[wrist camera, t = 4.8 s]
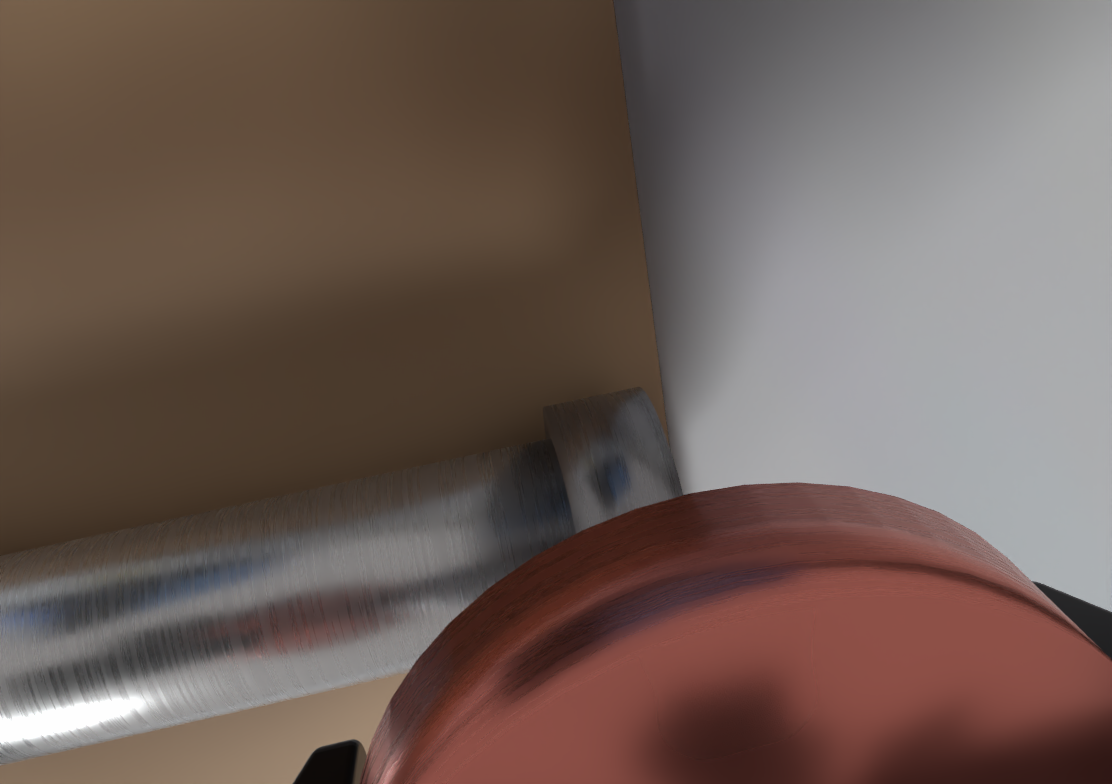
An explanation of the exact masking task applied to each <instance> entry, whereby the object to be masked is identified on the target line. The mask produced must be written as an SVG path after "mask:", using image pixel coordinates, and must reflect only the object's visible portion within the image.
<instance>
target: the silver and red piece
mask: <svg viewBox="0 0 1112 784" xmlns="http://www.w3.org/2000/svg"><path fill="white" fill-rule="evenodd" d="M543 418H544V426H545V433H546V439H544V440H540V441H535V442H530V443H526V444H521V445H516V446H512V447H507V448H502V449H498V450H493V451H488V452H484V453H479V454H474V455H469V456H465V457H460V458H455V459H451V460H446V461H441V462H437V463H432V464H427V465H423V466H418V467H413V468H409V469H404V470H399V471H395V472H390V473H385V474H381V475H376V476H371V477H367V478H362V479H357V480H353V481H348V482H343V483H339V484H334V485H329V486H325V487H320V488H315V489H311V490H306V491H301V492H296V493H292V494H287V495H282V496H278V497H273V498H268V499H264V500H259V501H254V502H250V503H245V504H240V505H236V506H231V507H226V508H222V509H217V510H212V511H208V512H203V513H198V514H194V515H189V516H184V517H180V518H175V519H170V520H166V521H161V522H156V523H152V524H147V525H142V526H138V527H133V528H128V529H123V530H119V531H114V532H109V533H105V534H100V535H95V536H91V537H86V538H81V539H77V540H72V541H67V542H63V543H58V544H53V545H49V546H44V547H39V548H35V549H30V550H25V551H21V552H16V553H11V554H7V555H2V556H0V766H2V765H6V764H10V763H15V762H19V761H24V760H28V759H32V758H37V757H41V756H46V755H50V754H54V753H59V752H63V751H67V750H72V749H76V748H81V747H85V746H89V745H94V744H98V743H102V742H107V741H111V740H116V739H120V738H124V737H129V736H133V735H138V734H142V733H146V732H151V731H155V730H159V729H164V728H168V727H173V726H177V725H181V724H186V723H190V722H194V721H199V720H203V719H208V718H212V717H216V716H221V715H225V714H230V713H234V712H238V711H243V710H247V709H251V708H256V707H260V706H265V705H269V704H273V703H278V702H282V701H286V700H291V699H295V698H300V697H304V696H308V695H313V694H317V693H322V692H326V691H330V690H335V689H339V688H343V687H348V686H352V685H357V684H361V683H365V682H370V681H374V680H378V679H383V678H387V677H392V676H396V675H400V674H405V673H408V674H407V675H406V677H405V678H404V680H403V681H402V683H401V684H400V686H399V687H398V689H397V690H396V692H395V694H394V695H393V697H392V698H391V700H390V702H389V704H388V706H387V708H386V710H385V712H384V714H383V716H382V719H381V721H380V723H379V725H378V727H377V729H376V731H375V733H374V736H373V738H372V740H371V743H370V747H369V750H368V754H367V757H366V761H365V764H364V768H363V771H362V774H361V778H360V784H1112V659H1111V658H1110V657H1109V656H1108V655H1107V654H1106V653H1105V652H1103V651H1102V650H1101V649H1100V648H1099V647H1098V646H1097V645H1096V644H1095V643H1094V642H1093V641H1092V640H1091V639H1090V638H1089V637H1088V636H1087V635H1086V634H1085V633H1084V632H1083V631H1082V630H1081V629H1080V628H1079V627H1078V626H1077V625H1076V624H1075V623H1074V622H1073V621H1072V620H1071V619H1070V618H1069V617H1068V616H1067V615H1065V614H1064V613H1063V612H1062V611H1061V610H1060V609H1059V608H1058V607H1057V606H1056V605H1055V604H1054V603H1053V602H1052V601H1051V600H1050V599H1049V598H1048V597H1047V596H1046V595H1045V594H1044V593H1043V592H1042V591H1041V590H1040V589H1039V588H1038V587H1037V586H1036V585H1035V584H1034V583H1033V582H1032V581H1031V580H1030V579H1029V578H1028V577H1026V576H1025V575H1024V574H1023V573H1022V572H1021V571H1020V570H1019V569H1018V568H1017V567H1016V566H1015V565H1014V564H1013V563H1012V562H1011V561H1010V560H1009V559H1008V558H1007V557H1006V556H1004V555H1003V554H1002V553H1001V552H999V551H998V550H997V549H996V548H994V547H993V546H992V545H991V544H989V543H988V542H987V541H986V540H984V539H983V538H982V537H981V536H979V535H978V534H977V533H975V532H973V531H972V530H970V529H968V528H966V527H964V526H963V525H961V524H959V523H957V522H955V521H954V520H952V519H950V518H948V517H946V516H945V515H943V514H941V513H939V512H937V511H934V510H931V509H928V508H926V507H923V506H920V505H917V504H915V503H912V502H909V501H907V500H904V499H901V498H898V497H895V496H891V495H886V494H881V493H877V492H872V491H867V490H863V489H858V488H853V487H848V486H835V485H822V484H810V483H776V484H754V485H741V486H735V487H728V488H722V489H716V490H710V491H704V492H697V493H691V494H687V495H683V493H682V489H681V486H680V482H679V478H678V474H677V471H676V468H675V464H674V461H673V457H672V454H671V451H670V448H669V445H668V442H667V439H666V436H665V433H664V430H663V428H662V425H661V423H660V420H659V417H658V415H657V413H656V411H655V408H654V406H653V404H652V402H651V400H650V398H649V397H648V395H647V394H646V392H645V391H644V390H643V389H642V388H641V387H635V388H630V389H625V390H621V391H616V392H611V393H606V394H602V395H597V396H592V397H588V398H583V399H578V400H573V401H569V402H564V403H559V404H554V405H550V406H545V407H543Z"/></svg>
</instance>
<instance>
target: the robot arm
mask: <svg viewBox="0 0 1112 784" xmlns="http://www.w3.org/2000/svg"><path fill="white" fill-rule="evenodd" d="M1032 582H1033V581H1032ZM1033 583H1034V584H1035V585H1036V586H1037V587H1038V588H1039V589H1040V590H1041V591H1042V592H1043V593H1044V594H1045V595H1046V596H1047V597H1048V598H1049V599H1050V600H1051V601H1052V602H1053V603H1054V604H1055V605H1056V606H1057V607H1058V608H1059V609H1060V610H1061V611H1062V612H1063V613H1064V614H1065V615H1067V616H1068V617H1069V618H1070V619H1071V620H1072V621H1073V622H1074V623H1075V624H1076V625H1077V626H1078V627H1079V628H1080V629H1081V630H1082V631H1083V632H1084V633H1085V634H1086V635H1087V636H1088V637H1089V638H1090V639H1091V640H1092V641H1093V642H1094V643H1095V644H1096V645H1097V646H1098V647H1099V648H1100V649H1101V650H1102V651H1103V652H1105V653H1106V654H1107V655H1108V656H1109V657H1110V658H1111V659H1112V612H1110V611H1107V610H1105V609H1103V608H1100V607H1098V606H1095V605H1093V604H1090V603H1088V602H1085V601H1083V600H1081V599H1078V598H1076V597H1073V596H1071V595H1068V594H1066V593H1063V592H1061V591H1058V590H1056V589H1054V588H1051V587H1049V586H1046V585H1044V584H1041V583H1038V582H1033ZM366 757H367V754H366V752H365V749H364V747H363V745H362V744H361V742H360V741H358V740H355V739H351V740H347V741H342V742H338V743H334V744H330V745H325V746H321V747H319V748H317V749H316V750H315V751H314V752H313V753H312V754H311V755H310V757H309V758H308V760H307V761H306V763H305V765H304V766H303V768H302V769H301V771H300V772H299V774H298V776H297V777H296V779H295V780H294V782H293V783H292V784H360V778H361V774H362V771H363V768H364V764H365V761H366Z"/></svg>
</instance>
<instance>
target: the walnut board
mask: <svg viewBox="0 0 1112 784" xmlns="http://www.w3.org/2000/svg"><path fill="white" fill-rule="evenodd" d="M635 387H641V388H642V389H643V390H644V391H645V392H646V394H647V395H648V397H649V398H650V400H651V402H652V404H653V406H654V408H655V411H656V413H657V415H658V417H659V420H660V423H661V425H662V428H663V430H664V433H665V436H666V439H667V442H668V445H669V439H668V431H667V423H666V415H665V407H664V399H663V391H662V383H661V375H660V367H659V359H658V351H657V344H656V336H655V328H654V320H653V312H652V304H651V296H650V288H649V280H648V272H647V264H646V256H645V248H644V240H643V232H642V225H641V217H640V209H639V201H638V193H637V185H636V177H635V169H634V161H633V153H632V145H631V137H630V129H629V121H628V113H627V106H626V98H625V90H624V82H623V74H622V66H621V58H620V50H619V42H618V34H617V26H616V18H615V10H614V2H613V0H0V556H2V555H7V554H11V553H16V552H21V551H25V550H30V549H35V548H39V547H44V546H49V545H53V544H58V543H63V542H67V541H72V540H77V539H81V538H86V537H91V536H95V535H100V534H105V533H109V532H114V531H119V530H123V529H128V528H133V527H138V526H142V525H147V524H152V523H156V522H161V521H166V520H170V519H175V518H180V517H184V516H189V515H194V514H198V513H203V512H208V511H212V510H217V509H222V508H226V507H231V506H236V505H240V504H245V503H250V502H254V501H259V500H264V499H268V498H273V497H278V496H282V495H287V494H292V493H296V492H301V491H306V490H311V489H315V488H320V487H325V486H329V485H334V484H339V483H343V482H348V481H353V480H357V479H362V478H367V477H371V476H376V475H381V474H385V473H390V472H395V471H399V470H404V469H409V468H413V467H418V466H423V465H427V464H432V463H437V462H441V461H446V460H451V459H455V458H460V457H465V456H469V455H474V454H479V453H484V452H488V451H493V450H498V449H502V448H507V447H512V446H516V445H521V444H526V443H530V442H535V441H540V440H544V439H546V433H545V426H544V418H543V407H545V406H550V405H554V404H559V403H564V402H569V401H573V400H578V399H583V398H588V397H592V396H597V395H602V394H606V393H611V392H616V391H621V390H625V389H630V388H635ZM669 448H670V447H669ZM407 674H408V673H405V674H400V675H396V676H392V677H387V678H383V679H378V680H374V681H370V682H365V683H361V684H357V685H352V686H348V687H343V688H339V689H335V690H330V691H326V692H322V693H317V694H313V695H308V696H304V697H300V698H295V699H291V700H286V701H282V702H278V703H273V704H269V705H265V706H260V707H256V708H251V709H247V710H243V711H238V712H234V713H230V714H225V715H221V716H216V717H212V718H208V719H203V720H199V721H194V722H190V723H186V724H181V725H177V726H173V727H168V728H164V729H159V730H155V731H151V732H146V733H142V734H138V735H133V736H129V737H124V738H120V739H116V740H111V741H107V742H102V743H98V744H94V745H89V746H85V747H81V748H76V749H72V750H67V751H63V752H59V753H54V754H50V755H46V756H41V757H37V758H32V759H28V760H24V761H19V762H15V763H10V764H6V765H2V766H0V784H292V783H293V782H294V780H295V779H296V777H297V776H298V774H299V772H300V771H301V769H302V768H303V766H304V765H305V763H306V761H307V760H308V758H309V757H310V755H311V754H312V753H313V752H314V751H315V750H316V749H317V748H319V747H321V746H325V745H330V744H334V743H338V742H342V741H347V740H351V739H355V740H358V741H360V742H361V744H362V745H363V747H364V749H365V752H366V754H368V750H369V747H370V743H371V740H372V738H373V736H374V733H375V731H376V729H377V727H378V725H379V723H380V721H381V719H382V716H383V714H384V712H385V710H386V708H387V706H388V704H389V702H390V700H391V698H392V697H393V695H394V694H395V692H396V690H397V689H398V687H399V686H400V684H401V683H402V681H403V680H404V678H405V677H406V675H407Z"/></svg>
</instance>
